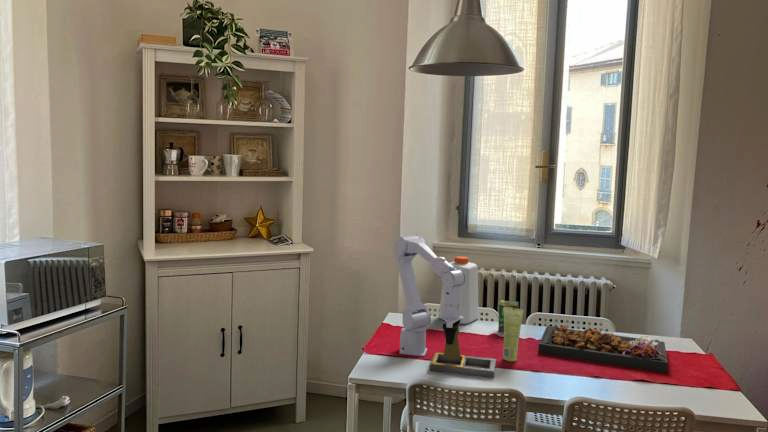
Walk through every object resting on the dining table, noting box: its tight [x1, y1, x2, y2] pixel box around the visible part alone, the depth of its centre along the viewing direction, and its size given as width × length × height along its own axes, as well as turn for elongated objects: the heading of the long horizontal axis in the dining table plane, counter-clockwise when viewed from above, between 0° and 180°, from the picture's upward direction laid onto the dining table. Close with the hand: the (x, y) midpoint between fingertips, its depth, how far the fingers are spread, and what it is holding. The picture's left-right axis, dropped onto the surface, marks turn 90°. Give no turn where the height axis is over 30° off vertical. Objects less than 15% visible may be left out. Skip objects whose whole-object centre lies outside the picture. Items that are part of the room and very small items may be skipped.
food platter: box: [537, 325, 669, 374], centre depth 240 cm, size 45×25×10 cm, turn 69°
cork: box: [443, 327, 462, 359], centre depth 219 cm, size 6×6×11 cm
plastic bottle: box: [438, 255, 479, 325], centre depth 277 cm, size 15×15×28 cm
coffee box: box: [497, 299, 520, 333], centre depth 261 cm, size 8×3×13 cm, turn 70°
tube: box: [502, 307, 525, 362], centre depth 229 cm, size 6×5×20 cm
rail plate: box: [429, 352, 497, 379], centre depth 220 cm, size 22×12×3 cm, turn 77°
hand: (450, 341), depth 220 cm, fingers closed on cork, 5 cm apart
